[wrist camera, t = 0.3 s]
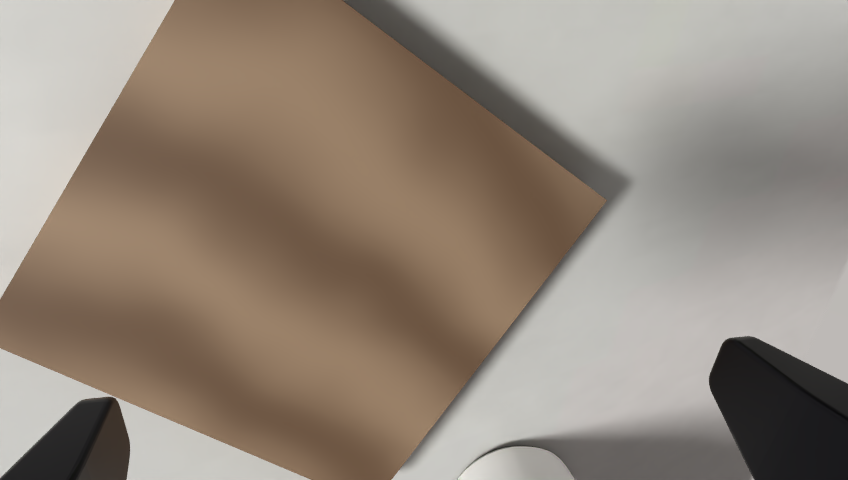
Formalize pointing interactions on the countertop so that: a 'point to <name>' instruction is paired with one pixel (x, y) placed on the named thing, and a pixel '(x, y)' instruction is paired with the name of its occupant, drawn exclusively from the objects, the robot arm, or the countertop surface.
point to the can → (517, 465)
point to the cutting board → (292, 238)
